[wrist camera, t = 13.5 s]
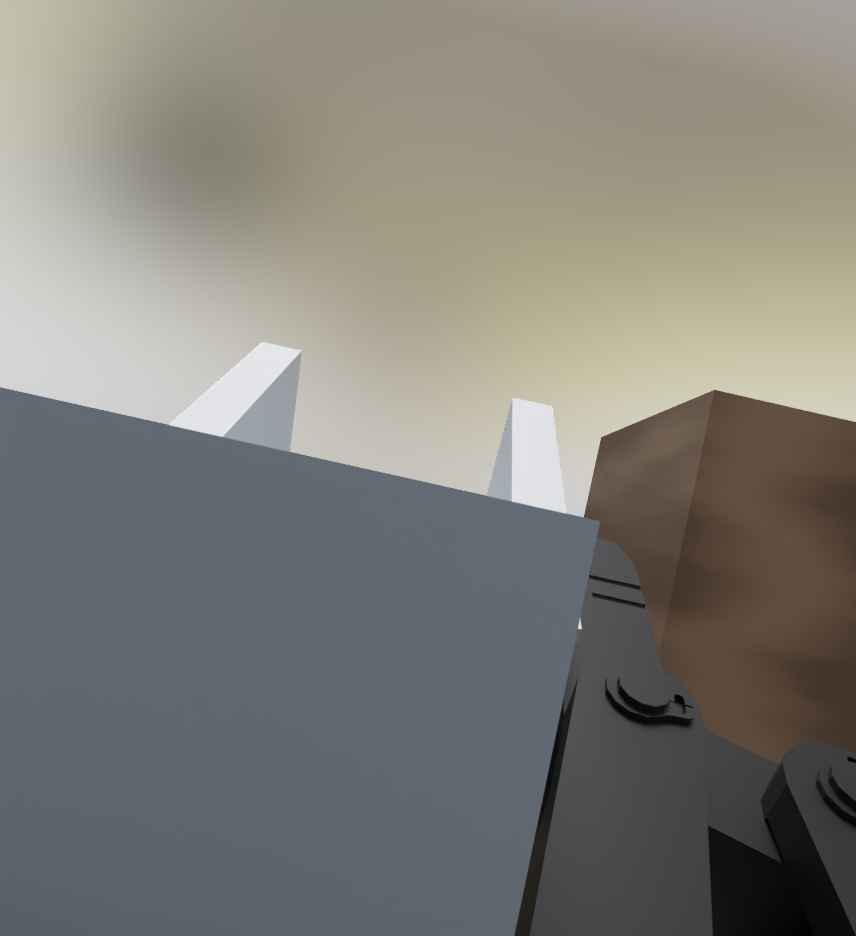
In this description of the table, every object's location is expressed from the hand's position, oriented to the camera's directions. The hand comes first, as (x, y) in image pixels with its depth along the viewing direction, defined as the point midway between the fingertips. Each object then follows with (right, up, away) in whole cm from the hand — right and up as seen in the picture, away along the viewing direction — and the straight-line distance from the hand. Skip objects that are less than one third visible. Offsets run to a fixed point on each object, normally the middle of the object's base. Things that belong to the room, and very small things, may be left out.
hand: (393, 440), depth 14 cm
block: (-1, -5, +4) cm, 7 cm away
